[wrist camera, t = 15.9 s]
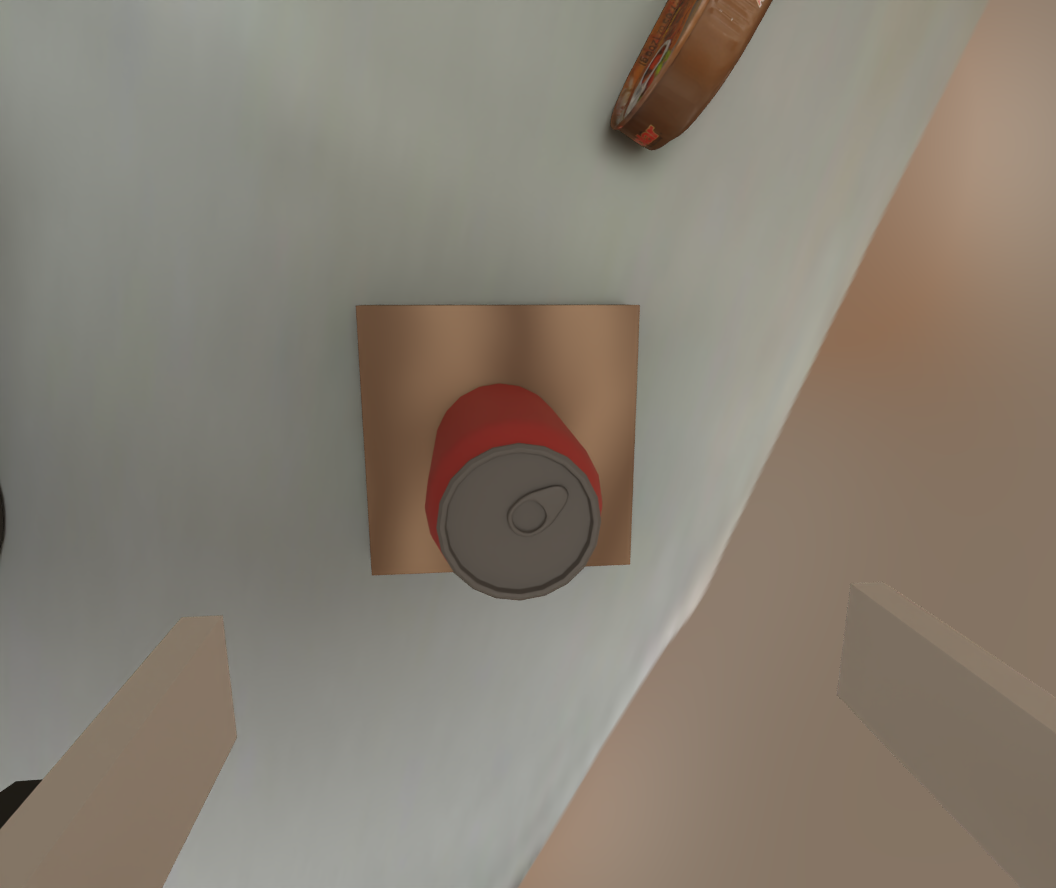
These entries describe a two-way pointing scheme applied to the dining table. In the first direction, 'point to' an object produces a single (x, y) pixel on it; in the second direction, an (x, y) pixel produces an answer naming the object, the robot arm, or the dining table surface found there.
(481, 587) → the beer can
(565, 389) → the podium
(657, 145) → the tin
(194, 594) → the dining table surface
